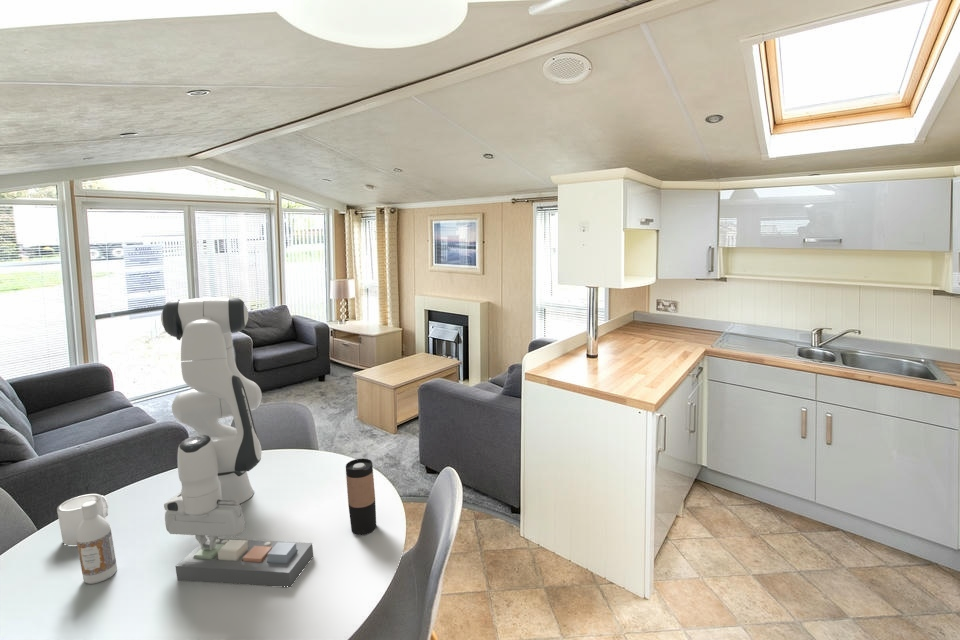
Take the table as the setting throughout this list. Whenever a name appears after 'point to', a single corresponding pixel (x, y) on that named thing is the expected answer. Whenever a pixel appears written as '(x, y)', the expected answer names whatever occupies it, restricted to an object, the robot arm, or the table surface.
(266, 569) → the keypad
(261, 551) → the terracotta key
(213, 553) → the sage key
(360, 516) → the travel mug
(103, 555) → the bath foam
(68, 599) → the table surface
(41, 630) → the table surface
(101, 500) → the mug
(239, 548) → the cream key
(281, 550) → the slate key
